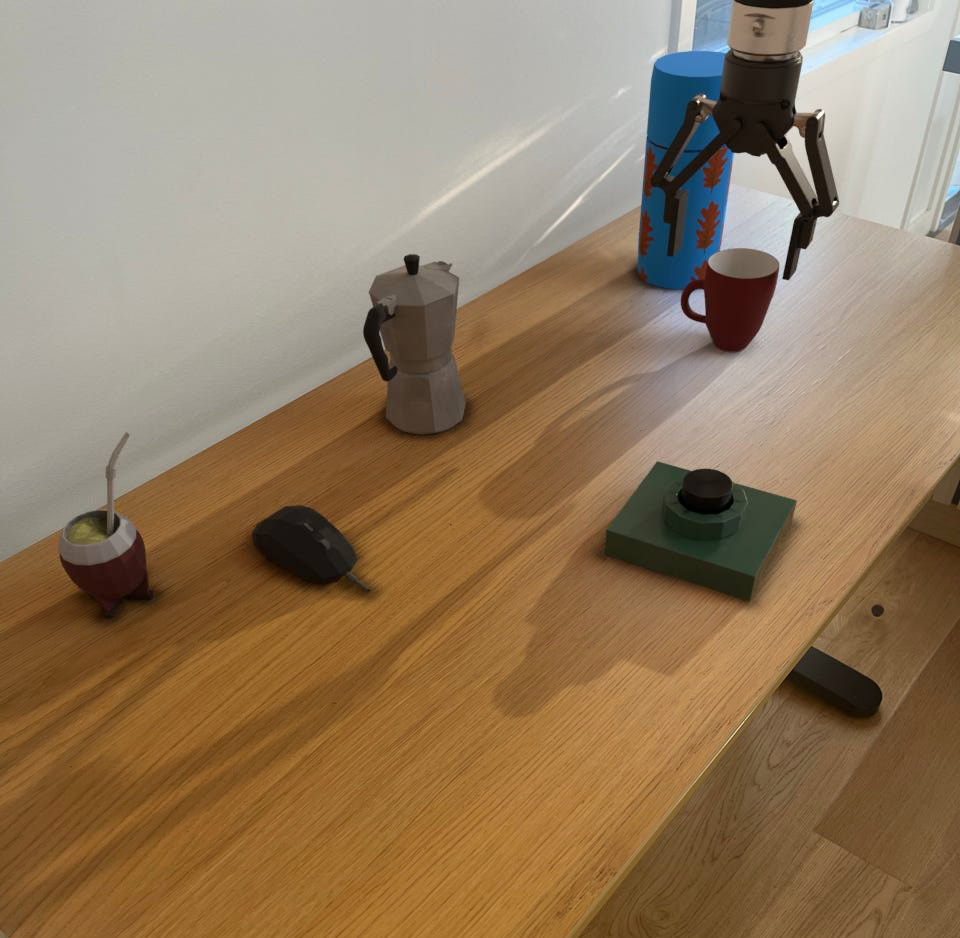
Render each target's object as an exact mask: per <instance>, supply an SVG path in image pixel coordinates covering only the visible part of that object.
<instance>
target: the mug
mask: <svg viewBox="0 0 960 938" xmlns="http://www.w3.org/2000/svg"><path fill="white" fill-rule="evenodd" d="M779 272H780V262H779V260H778V259H777V257H775V256H774V255H772V254H771V253H768V252H765V251H762V250H759V249H754V248H747V247H746V248H744V247H734V248H727V249H723V250H720V251H719V252H717V253H715V254H713V255H712V256H710V258H709V259H708V262H707V268H706V274H705V279H696V280H693V281H691V282H690V283H689V284H688V285H687V286H686V287H685V288H684V289H682V292H681V295H680V300H679V301H680V302H679V303H680V308H681V310H682V311H681V312H682V313H683V314H684V315H685V316H686V317H687V318H688V319H689V320H692V321H694V322H696V323H701V324H705V326H706V328H707V331H708V334H709V336H710V338H711V341H712V343H713V345H714V346H715V347H716V348H717V349H718V350H720V351H722V352H729V353H735V352H741V351H743V350H745V349H747V347H748V346H749V345H750V344H751V342H752V341H753V340H754V339H755V338H756V336H757V335H758V333H759V332H760V330H761V328H762V326H763V324H764V321H765V319H766V315H767V313H768V311H769V308H770V305H771V303H772V300H773V298H774V294H775V292H776V288H777V285H778V278H779ZM697 290H703V295H704V311H705V312H704V313H705V315H704V314H701V313H698V312H696V311H694V310H693V309H692V307H691V306H690V296H691V295H692V293H693V292H694V291H697Z"/></svg>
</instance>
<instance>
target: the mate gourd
mask: <svg viewBox="0 0 960 938" xmlns="http://www.w3.org/2000/svg"><path fill="white" fill-rule="evenodd" d="M130 436H131V435H130V433H128V432H127V431H126V432H125V433H124V434H123V436H122V437H121V438H120V439H119V442H118V443H117V445H116V446H115V448H114V449H113V451H112V453H111V456H110V457H109V460H108V464H107V465H106V466H105V479H106V499H107V500H106V504H107V505H106V506H107V507H106V509H101V508H100V509H93V510H87V511H85V512H83V513H80V514H78V515H76V516H74V517H73V518H72V519H70V520H69V521H68V522H67V523H66V525H65V526H64V527H63V529H62V530H61V532H60V535H59V539H58V553H59V561H60V564H61V567H62V568H63V569H64V571H65V573H66V574H67V576H68V577H69V579H70V580H71V581H72V583H74V585H75V586H77V588H78V589H80V590H81V591H82V592H84V593H86V594H88V596H91V597H93V598H94V599H95V601H96V602H97V603H98V604H99V605H100V606H101V607H102V609H104V610H103V611H102V616H103V618H105V619H113V617H114V616H115V614H116V613H117V611H118V609H119V607H120V606H121V604H122V602H123V601H124V600H126V599H127V600H128V599H131V600H144V601H145V600H146V601H151V600H152V599H153V598H154V596H155V594H154V590H150V588H149V586H150V585H149V584H150V582H149V573H148V569H147V552H146V545H145V541H144V539H143V537H142V534H141V533H140V532H139V531H138V530H137V527H136V526H135V525H134V523H133V522H132V520H130V519H129V518H128V517H126V516H125V515H123V514H121V513H119V512H117V511H115V482H114V481H115V479H116V473H117V467H116V464H117V462H118V459H119V456H120V455H121V452H122V451H123V449H124V447H125V445H126V444H127V442H128V439H129V438H130Z"/></svg>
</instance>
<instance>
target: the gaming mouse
mask: <svg viewBox="0 0 960 938" xmlns="http://www.w3.org/2000/svg"><path fill="white" fill-rule="evenodd" d="M251 539H252V543H253V545H254V547H255V548H256V549H257V550H258V553H260V554H261V555H262V556H263V557H265V558H266V559H268V560H269V561H272V562H273V563H275V564H277V565H278V566H280V567H283V568H284V569H285V570H288V571H289V572H291V573H292V574H294V575H296V576H297V577H299V578H302V579H304V580H306V581H308V582H309V583H310V582H311V583H319V584H327V583H330V582H334V581H336V580H340V579H342V578H343V577H344V578H346V579H347V580H348V581H349V582H351V584H352V585H355V584H356V586H358V587H360V588H361V589H363V591H365V592H366V593H370V591H371V588H370V587H368V586H367V585H365V584H364V583H363V582H361V581H360V580H359V579H358V577H357V576H355V575H354V574H352V573H351V572H352V570H353V568H354V566H355V565H356V563H357V561H358V557H357V554H356V551H355V549H354V548H353V546H352V544H350V542H349V541H348V540H347V539H346V538H345V537H344V534H343V533H342V532H341V531H340V530H339V529H338V528H337V527H336V526H335V525H334V524H333V523H332V522H330V521H329V520H328V519H327V518H326V517H325V516H324V515H322V514H321V513H320V512H318V511H317V510H316V509H314V508H312V507H310V506H305V505H300V504H298V505H297V504H296V505H286V506H283V507H282V508H280V509H278V510H277V511H275V512H274V513H272V514H270V515H269V516H268V517H266V518H264V519H262V520H261V521H259V522H258V523H256V525H255V527H254V528H253V530H252V533H251Z"/></svg>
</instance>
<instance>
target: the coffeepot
mask: <svg viewBox="0 0 960 938" xmlns="http://www.w3.org/2000/svg"><path fill="white" fill-rule="evenodd" d="M420 258H421V256H420V255H418V254H417V253H410V254H409V253H408V254H407V255H404V257H403V262H404V265H402V266H399V267H396V268H394V269H390V270H389V271H385V272H383V273H379V274H376V275H375V277H374V279H373V281H372V284H371V286H370V288H369V290H368V295H369V297H370V300H371V304H372V307H371V308H370V309H369V310H368V312H367V315H366V318H365V321H364V324H363V330H362V334H363V339H364V341H365V343H366V345H367V347H368V350H369V352H370V355H371V357H372V359H373V362H374V364H375V366H376V369H377V371H378V373H379V375H380V377H381V379H382V381H383V382H387V389H386V405H385V406H386V407H385V419H386V420H388V422H389V423H390V424H391V425H392V426H393V427H394V428H396V429H398V430H399V431H402V432H405V433H407V434H408V433H409V434H414V435H431V434H438V433H441V432H444V431H447V430H450V429H452V428H453V427H455V426H456V425H457V424H459V423H460V422H462V421H463V417H464V415H465V409H466V405H467V401H466V397H465V393H464V390H463V386H462V381H461V378H460V377H461V376H460V373H459V370H458V366H457V362H456V357H455V356H454V355H453V352H452V351H453V349H452V347H453V344H454V340H455V335H456V323H457V322H456V321H457V310H458V299H459V298H458V297H459V286H460V277H459V276H458V275H456V274H454V273H453V272H451V268H452V266H453V263H451V262H449V263H447V262H445V261H443V260H439V261H432V262H429V263H427V264H423V265H420V260H421V259H420ZM384 349H385V350H386V351H387V352H388V353H389V357H388V355H387V353H386V352H385V350H384ZM389 358H390V360H389Z"/></svg>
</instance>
